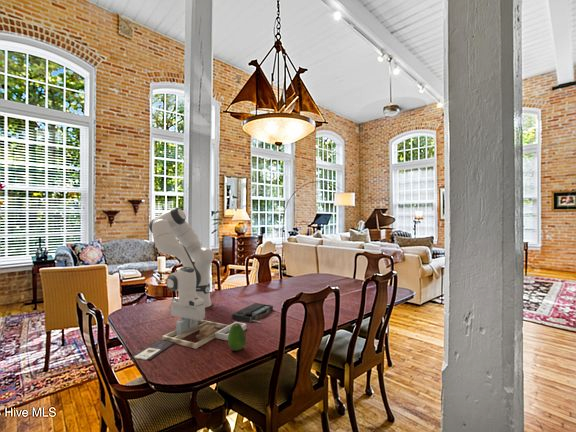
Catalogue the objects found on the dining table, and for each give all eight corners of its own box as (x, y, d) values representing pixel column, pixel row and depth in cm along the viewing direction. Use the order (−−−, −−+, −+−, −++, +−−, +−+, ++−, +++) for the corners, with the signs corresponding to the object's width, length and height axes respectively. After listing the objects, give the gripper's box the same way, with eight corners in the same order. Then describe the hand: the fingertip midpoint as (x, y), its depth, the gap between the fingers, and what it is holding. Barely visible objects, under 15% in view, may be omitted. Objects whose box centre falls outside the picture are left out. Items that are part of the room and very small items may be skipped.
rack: (162, 340, 148) (162, 335, 148) (199, 322, 171) (199, 319, 171) (195, 348, 139) (195, 344, 139) (230, 329, 162) (230, 325, 162)
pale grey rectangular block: (176, 335, 153) (176, 321, 153) (193, 327, 164) (193, 314, 164) (180, 336, 152) (180, 322, 152) (197, 328, 163) (197, 315, 163)
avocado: (224, 351, 136) (224, 324, 136) (236, 344, 143) (236, 319, 143) (237, 356, 132) (237, 328, 132) (249, 349, 138) (249, 322, 138)
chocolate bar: (175, 341, 145) (149, 359, 127) (175, 343, 145) (149, 361, 127) (159, 339, 147) (131, 356, 130) (159, 341, 147) (131, 358, 130)
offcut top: (199, 334, 149) (199, 329, 149) (206, 329, 156) (206, 324, 156) (208, 335, 149) (208, 330, 148) (214, 330, 155) (214, 325, 155)
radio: (255, 301, 200) (282, 305, 191) (255, 307, 200) (282, 312, 191) (231, 311, 178) (261, 317, 169) (231, 319, 178) (260, 325, 169)
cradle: (215, 337, 151) (215, 332, 151) (235, 326, 166) (235, 321, 166) (226, 340, 148) (226, 335, 148) (246, 328, 163) (246, 323, 163)
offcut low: (196, 340, 149) (196, 335, 149) (209, 333, 158) (209, 328, 158) (204, 342, 147) (204, 337, 147) (217, 334, 156) (217, 329, 156)
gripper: (167, 298, 159) (167, 325, 159) (198, 303, 150) (198, 331, 151) (176, 295, 165) (176, 321, 165) (206, 300, 156) (206, 327, 156)
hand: (187, 326), depth 158 cm, fingers closed on pale grey rectangular block, 3 cm apart
